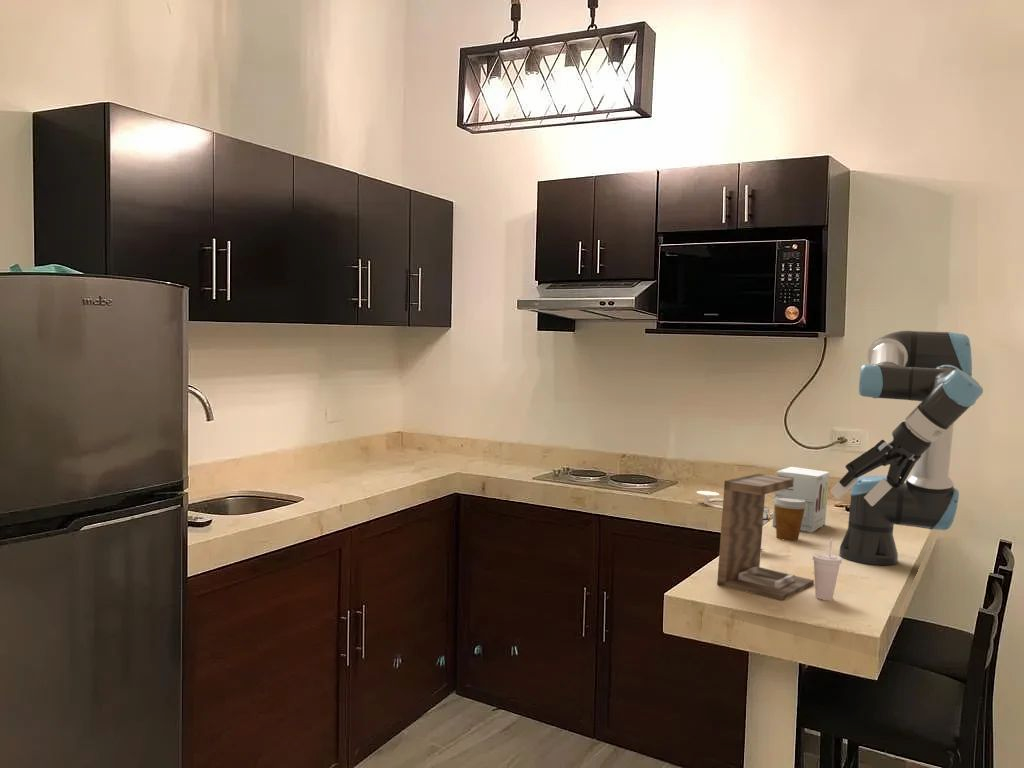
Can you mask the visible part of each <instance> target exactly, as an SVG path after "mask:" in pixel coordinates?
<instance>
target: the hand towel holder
mask: <svg viewBox="0 0 1024 768" xmlns="http://www.w3.org/2000/svg"><path fill="white" fill-rule="evenodd" d="M696 493H697V495H698V496H702V497H705V500H704V505H705V504H706V505H707V506H708V507H712V508H716V509H720V510H721V509H722V510H723V505H719V504H714V503H713V502H723V498H714V497H718V496H720V493H718V492H716V491H710V490H698V491H696ZM712 501H713V502H712Z"/></svg>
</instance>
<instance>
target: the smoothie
mask: <svg viewBox="0 0 1024 768" xmlns="http://www.w3.org/2000/svg"><path fill="white" fill-rule="evenodd" d="M832 550H833V538H832V537H831V538H829V548H828V553H814V554H813V555H812V561H813V571H814V588H815V589H814V590H815V591H814V592H815V598H816V599H818V598H819V600H821V599H823V600H822V601H832V600H833V599H834V593H835V589H836V584H837V579H838V574H839V570H840V566H841V565H842V557H841V556H837V555H834V554H832Z"/></svg>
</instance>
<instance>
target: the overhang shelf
mask: <svg viewBox="0 0 1024 768" xmlns="http://www.w3.org/2000/svg"><path fill="white" fill-rule="evenodd" d="M723 484H724V485H723V498H722V499H723V501H722V506H723V509H722V512H721V513H722V514H721V527H720V539H719V541H720V543H719V554H718V569H717V581H716V584H718V586H721V585H722V587H725V586H726V588H729V587H730V588H731V589H733V588H734V590H737V589H738V590H737V591H741V590H743V591H742V592H745V591H747V593H750V592H751V593H750V594H754V593H755V594H754V595H758V596H762V595H763V596H762V597H766V596H767V597H768V598H770V597H771V599H774V598H776V599H775V600H778V599H780V600H779V601H785V600H786V599H788V598H789V596H790V597H792V596H793V594H794V595H795V593H796V594H797V593H799V592H801V591H803V590H805V589H807V588H809V587H811V586H813V585H815V579H811V578H806V577H802V576H797V575H795V574H791V573H788V572H783V571H778V570H774V569H769V568H764V567H760V565H761V549H762V541H763V540H762V537H763V526H764V525H763V513H764V507H765V500H766V499H765V497H766V495H767V494H771V493H775V491H779V490H782V489H786V488H790V487H793V479H791V478H785V477H778V476H776V475H770V474H765V473H764V474H763V473H754V474H751V475H746V476H745V475H744V476H742V477H736V478H732V479H726V480H724V483H723ZM791 595H792V596H791ZM787 597H788V598H787ZM785 598H786V599H785Z"/></svg>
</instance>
